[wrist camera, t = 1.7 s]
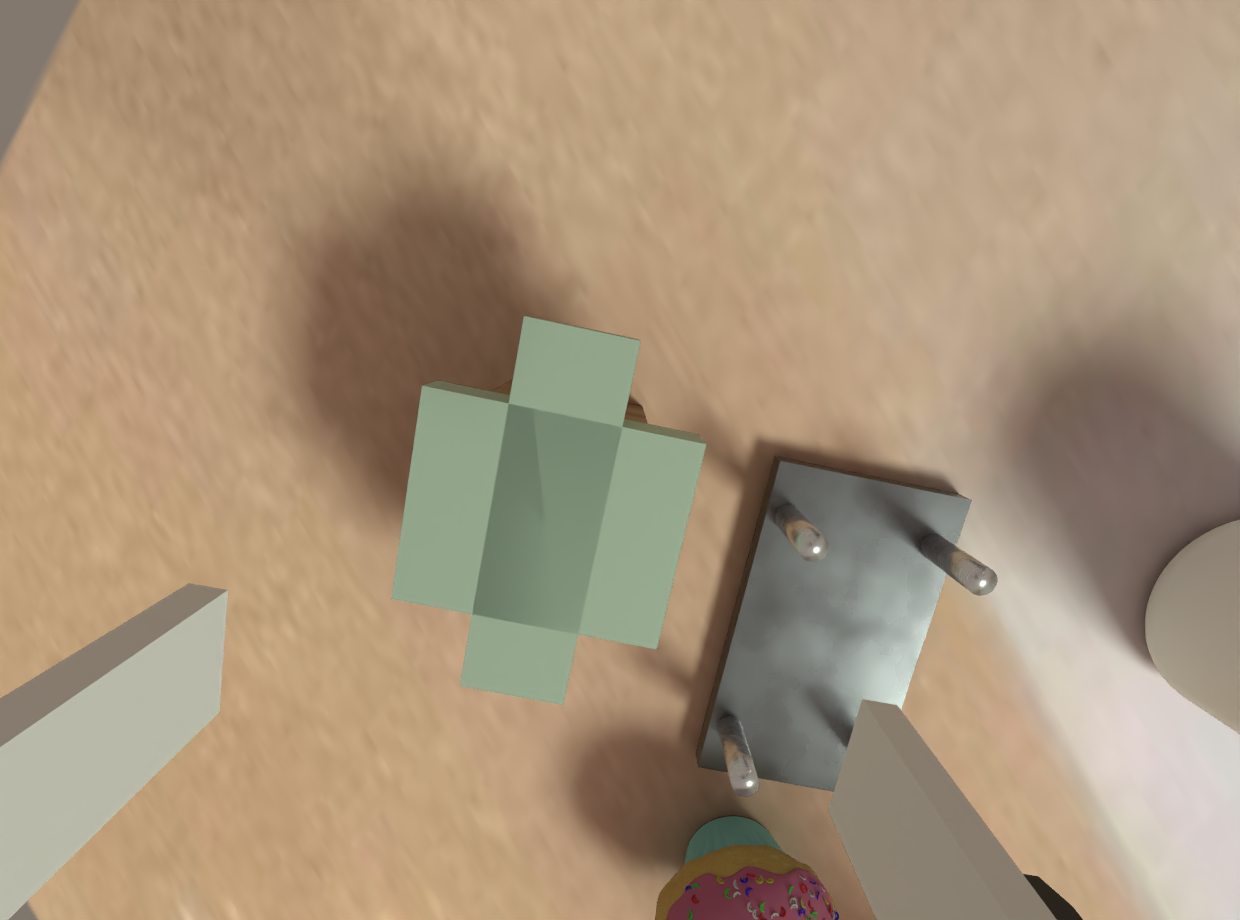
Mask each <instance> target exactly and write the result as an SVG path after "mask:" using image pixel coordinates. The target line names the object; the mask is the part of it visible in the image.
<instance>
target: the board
mask: <svg viewBox="0 0 1240 920" xmlns="http://www.w3.org/2000/svg"><path fill="white" fill-rule="evenodd" d="M640 342H641V341H640V340H639V339H634V338H630V337H625V336H620V335H616V334H611V333H606V332H602V331H597V330H592V329H588V328H583V327H578V326H574V325H569V324H564V323H559V322H555V321H550V320H545V319H541V318H536V317H531V316H524V318H523V324H522V330H521V335H520V341H519V347H518V353H517V358H516V364H515V370H514V376H513V381H512V387H511V393H510V395H506V394H501V393H496V392H492V391H487V390H482V389H477V388H472V387H468V386H463V385H458V384H453V383H448V382H443V381H439V380H438V381H435V382H432V383H429V384H426V385H422V389H421V396H420V403H419V410H418V417H417V424H416V431H415V438H414V445H413V452H412V459H411V466H410V473H409V480H408V486H407V493H406V500H405V507H404V514H403V521H402V528H401V535H400V542H399V549H398V556H397V563H396V570H395V577H394V584H393V591H392V598H391V599H394V600H399V601H404V602H410V603H415V604H420V605H425V606H431V607H436V608H441V609H446V610H452V611H457V612H462V613H468V614H472V618H471V623H470V629H469V635H468V641H467V646H466V652H465V658H464V664H463V669H462V675H461V681H460V686H462V687H468V688H473V689H479V690H484V691H490V692H495V693H500V694H506V695H511V696H517V697H522V698H528V699H533V700H538V701H544V702H549V703H555V704H560V705H563V704H564V699H565V694H566V689H567V685H568V680H569V675H570V671H571V666H572V661H573V657H574V652H575V647H576V643H577V638H578V635H584V636H589V637H594V638H599V639H605V640H610V641H615V642H620V643H626V644H631V645H636V646H642V647H647V648H652V649H657V646H658V642H659V638H660V634H661V630H662V625H663V621H664V617H665V613H666V609H667V605H668V601H669V597H670V592H671V588H672V584H673V580H674V576H675V572H676V568H677V564H678V559H679V555H680V551H681V547H682V543H683V539H684V535H685V531H686V527H687V522H688V518H689V514H690V510H691V506H692V502H693V498H694V494H695V489H696V485H697V481H698V477H699V473H700V469H701V465H702V461H703V456H704V452H705V448H706V443H705V442H704V440H703V439H702V438H701V436H700V435H699V434H694V433H690V432H685V431H680V430H675V429H670V428H665V427H661V426H656V425H651V424H646V423H641V422H636V421H632V420H627V419H624V417H625V413H626V408H627V403H628V398H629V394H630V389H631V384H632V380H633V375H634V370H635V366H636V361H637V356H638V352H639V347H640Z"/></svg>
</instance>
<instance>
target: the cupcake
mask: <svg viewBox="0 0 1240 920" xmlns="http://www.w3.org/2000/svg"><path fill="white" fill-rule="evenodd" d="M836 915H837V916H836ZM838 919H839V915H838V913H837V912H836V911H835V907H834V904H833V901H832V899H831V897H830V895H829V893H828V892H827V890H826V889H825V887H824V886H823V884H822V883H821V882H820V880H819V879H818V877H817V876H816V874H815V872H814V871H813V870H812V869H811V868H810V867H809V866H807V865H805V864H803V863H800V862H798V861H797V860H795V859H793V858H792V857H790V856H788V855H787V854H785V853H784V852H783V851H782V850H781V849H780V847H779V846H778V845H777V843H776V842H775V840H774V839H773V838H772V836H771V835H770V833H769V832H768V831H767V830H766V829H765V828H764V827H763V826H762V825H760V824H759V823H757V822H755V821H753V820H751V819H748V818H744V817H738V816H728V817H721V818H718V819H715V820H712V821H710V822H708V823H706V824H705V825H703V826H702V827H701V828H700V829H699V830H698V831H697V832H696V833H695V834H694V835H693V837H692V838H691V840H690V842H689V845H688V848H687V853H686V858H685V862H684V865H683V866H682V867H681V868H680V870H679V871H678V872H677V873H676V874H675V875H674V876H673V878H672V879H671V880H670V881H669V882H668V883H667V884H666V885H665V887H664V888H663V889H662V890H661V892H660V894H659V897H658V901H657V908H656V917H655V920H838Z"/></svg>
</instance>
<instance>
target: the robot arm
mask: <svg viewBox="0 0 1240 920" xmlns="http://www.w3.org/2000/svg"><path fill="white" fill-rule="evenodd" d="M227 596H228V590H224V589H219V588H213V587H207V586H201V585H195V584H190V583H189V584H187V585H185V586H184V587H182V588H181V589H179V590H177V591H176V592H174V593H172V594H171V595H169V596H167V597H166V598H164V599H163V600H161V601H159V602H158V603H156V604H154V605H153V606H151V607H149V608H148V609H146V610H145V611H143V612H141V613H140V614H138V615H136V616H135V617H133V618H131V619H130V620H128V621H127V622H125V623H123V624H122V625H120V626H118V627H117V628H115V629H113V630H112V631H110V632H109V633H107V634H105V635H104V636H102V637H100V638H99V639H97V640H95V641H94V642H92V643H91V644H89V645H87V646H86V647H84V648H82V649H81V650H79V651H77V652H76V653H74V654H73V655H71V656H69V657H68V658H66V659H64V660H63V661H61V662H59V663H58V664H56V665H55V666H53V667H51V668H50V669H48V670H46V671H45V672H43V673H41V674H40V675H38V676H37V677H35V678H33V679H32V680H30V681H28V682H27V683H25V684H23V685H22V686H20V687H18V688H17V689H15V690H14V691H12V692H10V693H9V694H7V695H5V696H4V697H2V698H0V920H8V919H9V918H10V917H11V916H12V915H13V914H14V913H15V912H16V911H17V910H18V909H19V908H20V907H21V906H22V905H23V904H24V903H25V902H26V901H27V900H29V899H30V898H31V897H32V896H33V895H34V894H35V893H36V892H37V891H38V890H39V889H40V888H41V887H42V886H43V885H44V884H45V883H46V882H47V881H48V880H49V879H50V878H51V877H52V876H53V875H54V874H55V873H56V872H57V871H58V870H59V869H60V868H61V867H62V866H63V865H64V864H65V863H66V862H67V861H68V860H69V859H70V858H71V857H72V856H73V855H74V854H75V853H76V852H77V851H78V850H79V849H80V848H81V847H82V846H83V845H84V844H85V843H86V842H87V841H88V840H90V839H91V838H92V837H93V836H94V835H95V834H96V833H97V832H98V831H99V830H100V829H101V828H102V827H103V826H104V825H105V824H106V823H107V822H108V821H109V820H110V819H111V818H112V817H113V816H114V815H115V814H116V813H117V812H118V811H119V810H120V809H121V808H122V807H123V806H124V805H125V804H126V803H127V802H128V801H129V800H130V799H131V798H132V797H133V796H134V795H135V794H136V793H137V792H138V791H139V790H140V789H141V788H142V787H143V786H144V785H145V784H146V783H147V782H148V781H149V780H151V779H152V778H153V777H154V776H155V775H156V774H157V773H158V772H159V771H160V770H161V769H162V768H163V767H164V766H165V765H166V764H167V763H168V762H169V761H170V760H171V759H172V758H173V757H174V756H175V755H176V754H177V753H178V752H179V751H180V750H181V749H182V748H183V747H184V746H185V745H186V744H187V743H188V742H189V741H190V740H191V739H192V738H193V737H194V736H195V735H196V734H197V733H198V732H199V731H200V730H201V729H202V728H203V727H204V726H205V725H206V724H207V723H208V722H209V721H210V720H212V719H213V718H214V717H215V716H216V715H217V714H218V713H219V709H220V695H221V681H222V667H223V653H224V638H225V624H226V610H227ZM828 811H829V814H830V816H831V818H832V820H833V823H834V825H835V827H836V829H837V832H838V834H839V836H840V839H841V841H842V843H843V845H844V848H845V850H846V852H847V854H848V857H849V859H850V861H851V863H852V866H853V868H854V870H855V873H856V875H857V877H858V879H859V882H860V884H861V886H862V888H863V891H864V893H865V895H866V897H867V900H868V902H869V904H870V907H871V909H872V911H873V913H874V916H875V918H876V920H1083V919H1082V918H1081V917H1080V915H1079V914H1078V913H1077V912H1076V910H1075V909H1074V908H1073V907H1072V906H1071V905H1070V904H1069V903H1068V902H1067V901H1066V900H1064V899H1063V898H1062V897H1061V896H1060V895H1059V894H1058V893H1056V892H1055V891H1054V890H1053V889H1052V888H1051V887H1050V886H1048V885H1047V884H1046V883H1045V882H1044V881H1043V880H1042V879H1041V878H1039V877H1038V876H1032V875H1026V874H1022V872H1021V871H1020V870H1019V868H1018V867H1017V865H1016V864H1015V863H1014V861H1013V860H1012V859H1011V857H1010V856H1009V855H1008V853H1007V852H1006V851H1005V849H1004V848H1003V847H1002V845H1001V844H1000V843H999V841H998V840H997V839H996V837H995V836H994V835H993V833H992V832H991V831H990V829H989V828H988V827H987V825H986V824H985V822H984V821H983V820H982V818H981V817H980V816H979V814H978V813H977V812H976V810H975V809H974V808H973V806H972V805H971V804H970V802H969V801H968V800H967V798H966V797H965V796H964V794H963V793H962V792H961V790H960V789H959V788H958V786H957V785H956V784H955V782H954V781H953V779H952V778H951V777H950V775H949V774H948V773H947V771H946V770H945V769H944V767H943V766H942V765H941V763H940V762H939V761H938V759H937V758H936V757H935V755H934V754H933V753H932V751H931V750H930V749H929V747H928V746H927V745H926V743H925V742H924V741H923V739H922V738H921V736H920V735H919V734H918V732H917V731H916V730H915V728H914V727H913V726H912V724H911V723H910V722H909V720H908V719H907V718H906V716H905V715H904V714H903V712H902V711H901V710H900V708H899V707H898V706H897V705H894V704H888V703H882V702H877V701H871V700H865V699H862V701H861V704H860V707H859V711H858V714H857V717H856V720H855V724H854V727H853V730H852V734H851V737H850V740H849V744H848V747H847V750H846V754H845V757H844V760H843V763H842V767H841V770H840V773H839V777H838V780H837V783H836V787H835V790H834V793H833V797H832V800H831V803H830V807H829V810H828Z"/></svg>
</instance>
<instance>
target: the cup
mask: <svg viewBox="0 0 1240 920" xmlns="http://www.w3.org/2000/svg"><path fill="white" fill-rule="evenodd" d="M1145 636H1146V642H1147V646H1148V650H1149V653H1150V655H1151V658H1152V660H1153V662H1154V664H1155V666H1156V668H1157V669H1158V671H1159V672H1160V674H1161V675H1162V677H1163V678H1164V679H1165V680H1166V681H1167V682H1168V684H1169V685H1170V686H1171V687H1172V688H1173V689H1175V690H1176V691H1177V692H1178V693H1179V694H1180V695H1182V696H1183V697H1184V698H1186V699H1187V700H1189V701H1190V702H1192V703H1193V704H1195V705H1196V706H1198V707H1199V708H1201V709H1202V710H1204V711H1205V712H1207V713H1208V714H1210V715H1211V716H1213V717H1214V718H1216V719H1217V720H1219V721H1220V722H1222V723H1223V724H1225V725H1227V726H1228V727H1230V728H1231V729H1233V730H1234V731H1236V732H1237V733H1239V734H1240V520H1236V521H1233V522H1229V523H1226V524H1224V525H1221V526H1219V527H1217V528H1214V529H1212V530H1210V531H1209V532H1207V533H1205V534H1203V535H1201V536H1200V537H1198V538H1196V539H1195V540H1194V541H1192V542H1191V543H1189V544H1188V545H1187V546H1186V547H1184V548H1183V549H1182V550H1181V551H1180V552H1179V553H1178V554H1177V555H1176V556H1175V557H1174V558H1173V559H1172V560H1171V561H1170V562H1169V564H1168V565H1167V566H1166V567H1165V569H1164V570H1163V572H1162V573H1161V574H1160V576H1159V578H1158V579H1157V581H1156V583H1155V585H1154V587H1153V589H1152V592H1151V595H1150V597H1149V601H1148V604H1147V609H1146V616H1145Z"/></svg>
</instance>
